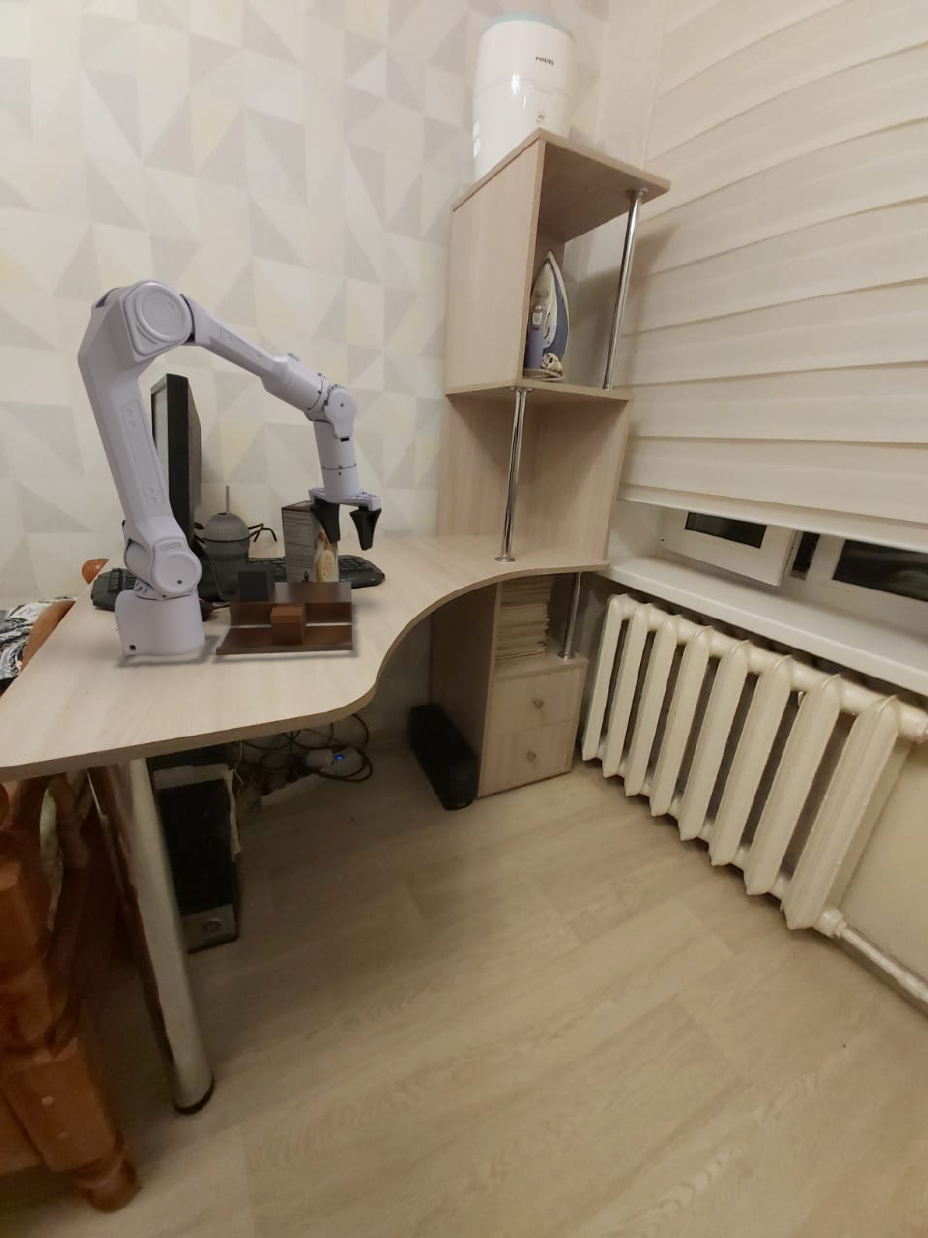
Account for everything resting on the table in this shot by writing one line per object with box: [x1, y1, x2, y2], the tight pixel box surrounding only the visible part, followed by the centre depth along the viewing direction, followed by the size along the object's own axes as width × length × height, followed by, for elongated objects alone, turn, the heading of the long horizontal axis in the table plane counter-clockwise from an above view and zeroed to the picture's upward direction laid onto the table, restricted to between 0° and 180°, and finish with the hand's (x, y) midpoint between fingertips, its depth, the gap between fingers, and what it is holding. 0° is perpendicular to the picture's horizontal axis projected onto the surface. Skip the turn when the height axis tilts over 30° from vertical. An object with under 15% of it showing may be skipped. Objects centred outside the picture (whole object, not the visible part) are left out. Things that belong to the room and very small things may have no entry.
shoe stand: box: [215, 581, 354, 656], centre depth 77 cm, size 18×20×4 cm
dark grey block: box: [237, 563, 276, 601], centre depth 79 cm, size 8×4×5 cm, turn 13°
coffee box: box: [280, 499, 340, 582], centre depth 93 cm, size 9×6×16 cm
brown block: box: [270, 603, 307, 645], centre depth 73 cm, size 8×4×5 cm, turn 13°
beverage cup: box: [202, 485, 252, 602], centre depth 84 cm, size 7×7×20 cm
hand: (350, 545), depth 87 cm, fingers open, 7 cm apart
